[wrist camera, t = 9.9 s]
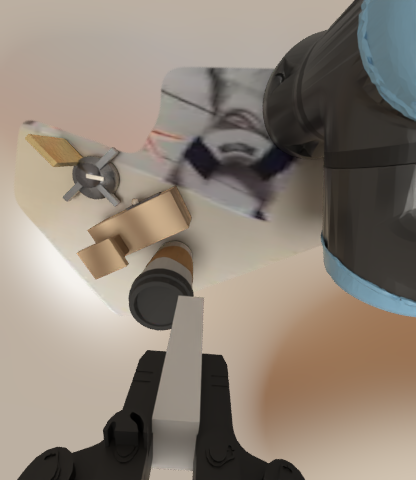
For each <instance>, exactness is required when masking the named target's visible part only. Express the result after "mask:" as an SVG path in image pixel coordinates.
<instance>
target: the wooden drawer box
mask: <svg viewBox="0 0 416 480" xmlns="http://www.w3.org/2000/svg"><path fill="white" fill-rule="evenodd" d="M190 222H191V215H190V213H189V211H188V209H187V207H186V205H185V203H184V201H183V199H182V197H181V195H180V193H179V191H178V189H177V187H176V186H174V187H172V188H170V189H168V190H166V191H164V192H162V193H161V192H159V193H157V194H155V195H153V196H151V197H149V198H147V199H144V200H142V201H141V202H139V200H138V199H133V200H132V206H130V207H129V208H127V209H126V210H124V211H122V212H120V213H118V214H116V215H114V216H112V217H109V218H107V219H105V220H104V221H102V222H100V223H99V224H97V225H95V226H94V227H92V228H90V229H89V230H88V232H89V233H90V235H91V236H92V238H93V239H94V241H95V242H96V244H94V245H91V246H89V247H87V248H85V249H83V250H81V251H79V252H78V253H77V254H78V256H79V257H80V259H81V260H82V261H83V263H84V264H85V265H86V267H87V268H88V269H89V271H90V272H91V274H92V275H93V276H94V278H95V279H99V278H101V277H103V276H105V275H108V274H110V273H112V272H115V271H117V270H119V269H122V268H124V267H126V266H127V265H128V264H129V263H128V262H127V260H126V259H125V256H126V255H129V254H131V253H133V252H135V251H138V250H140V249H142V248H145V247H147V246H149V245H151V244H154V243H156V242H158V241H160V240H163V239H165V238H167V237H169V236H172V235H174V234H176V233H178V232H181V231H183V230H185V229H187V228H189V225H190Z"/></svg>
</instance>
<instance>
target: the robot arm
mask: <svg viewBox="0 0 416 480" xmlns="http://www.w3.org/2000/svg"><path fill="white" fill-rule="evenodd" d="M263 117H264V122H265V126H266V129H267V132H268V134H269V136H270V138H271V139H272V141H273V142H274V143H275V145H276V146H277V147H278V148H279V149H281V150H282V151H283V152H285V153H287V154H289V155H291V156H294V157H297V158H305V159H313V158H322V157H324V183H323V228H322V233H321V242H322V246H323V254H324V265H325V268H326V270H327V272H328V274H329V275H330V276H331V277H332V279H333V280H334V282H335V283H336V284H337V285H338V286H340V287H341V288H342V289H343V290H344V291H346V292H347V293H348V294H350V295H352V296H353V297H355V298H357V299H358V300H361V301H363V302H365V303H367V304H369V305H372V306H374V307H376V308H379V309H382V310H385V311H389V312H392V313H396V314H400V315H405V316H412V317H416V0H354V2H353V3H352V4H351V5H350V6H349V7H348V8H347V9H346V10H345V12H343V14H342V15H341V16H340V17H339V18H338V19H337V20H336V21H335V22H334V23H333V24H332V26H331V27H330V28H329V29H328V30H325V31H322V32H319V33H315V34H313V35H311V36H309V37H307V38H305V39H303V40H302V41H300V42H299V43H298V44H296V45H295V46H294V47H293V48H292V49H291V50H290V51H289V52H288V53H287V54H286V55H285V56H284V57H283V58H282V60H281V61H280V63H279V64H278V66H277V67H276V68H275V70H274V71H273V73H272V75H271V77H270V79H269V81H268V84H267V87H266V90H265V94H264V101H263ZM203 305H204V298H202V297H190V296H178V301H177V306H176V310H175V315H174V319H173V324H172V329H171V333H170V338H169V343H168V347H167V352H165V351H151V350H147V351H146V352H145V354H144V355H143V356H142V357H141V359H140V360H139V363H138V366H137V369H136V372H135V374H134V377H133V381H132V383H131V386H130V389H129V392H128V395H127V398H126V401H125V404H124V407H123V410H121V411H119V412H117V413H116V414H115V415H114V416H113V417H111V418H110V420H109V421H108V422H107V424H106V426H105V427H104V429H103V434H104V440H103V441H102V442H100V443H99V444H96V445H94V446H92V447H89V448H86V449H83V450H80V451H77V452H74V453H71V452H70V451H69V450H68V449H67V448H62V447H55V448H52V449H49V450H47V451H45V452H44V453H42V454H41V455H39V456H38V457H36V458H35V459H34V460H33V461H32V462H31V464H30V465H29V466H28V467H27V468H26V469H25V470H24V472H23V473H22V474H21V475H20V477H19V478H18V479H17V480H149V475H150V470H151V465H152V468H154V469H170V470H172V469H173V470H190V471H193V480H305V479H304V477H303V476H302V474H301V472H300V471H299V470H298V469H297V468H296V467H295V466H294V465H293V464H292V463H290V462H288V461H286V460H283V459H275V460H273V461H272V462H270V463H267V462H265V461H263V460H261V459H259V458H256V457H255V456H252V455H251V454H249V453H248V452H246V451H245V450H244V449H243V448H242V447H241V446H240V444H239V442H238V441H237V439H236V437H235V434H234V431H233V426H232V414H231V403H230V391H229V380H228V369H227V364H226V362H225V360H224V358H223V356H222V355H214V354H202V333H203Z"/></svg>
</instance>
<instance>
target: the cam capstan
mask: <svg viewBox="0 0 416 480" xmlns="http://www.w3.org/2000/svg"><path fill="white" fill-rule="evenodd" d="M25 139H26V140H27V141H28V142H29V143H30V144H31V145H32V146H33V147H34V148H35V149H36V150H37V151H38V152H39V153H40V154H41V155H42V156H43V157H44V158H45V159H46V160H47V161H48V162H49V163H50V164H51V165H52V166H53V167H61V166H74V168H73V180H74V183H75V185H74V186H73V187H72V188H71V189H70V190H69V191H68V192H67V193H66V194H65V195H64V196H63V198H64V199H65V200H66V201H67V202H68V201H70V200H71V199H72V198H73V197H74V196H76V195H77V194H78V193H79V192H81V193H82V194H84V195H85V196H87V197H89V198H92V199H102V198H105V197H106V198H107V199H108V200H109V201H110V202H111V203H112V204H113V205H114V206H117V205H118V204H119V203H120V201H119V200H118V199H117V198H116V197H115V196H114V195H113V193H115V191H116V190H117V188H118V186H119V174H118V171H117V169H116V168H115V166H114V165H113V164H112V163H111V162H110V161H111V160H112V159H113V158H114V157H115V156H116V155H117V154H118V153H119V152H118V151H117V150H116V149H115V148H113V147H112V148H111V149H110V150H109V151H108V152H107V153H106V154H105V155H104V156H103V157H97V156H88V157H82V156H81V155H80V154H79V153H78V152H77V151H76V150H75V149H74V148H73V147H72V146H71V145H70V144H69V143H68V142H67V140H66V139H63V138H55V137H47V136H40V135H32V134H28V135H27V136H26V138H25Z"/></svg>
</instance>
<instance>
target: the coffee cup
mask: <svg viewBox="0 0 416 480" xmlns="http://www.w3.org/2000/svg"><path fill="white" fill-rule="evenodd" d="M192 260H193V259H192V252H191V250H190V249H189V247H187V246H186V245H185V244H183V243H181V242H178V241H171V242H167V243H165V244H164V245H163V246H162V247H161V248H160V249H159V250H158V252H157V253H156V254H155V255H154V256H153V258H152V259H151V260H150V262H149V263H148V264H147V266H146V268H145V269H144V271H143V272H142V273H141V274H140V275H139V276H138V277H137V278H136V279H135V281H134V282H133V284H132V287H131V290H130V293H129V308H130V311H131V314H132V316H133V317H134V318H135V319H136V321H137V322H139V323H140V324H141V325H143V326H145V327H147V328H150V329H154V330H168V329H172V324H173V319H174V315H175V310H176V306H177V301H178V296H190V297H193V290H192V283H193V261H192Z"/></svg>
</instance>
